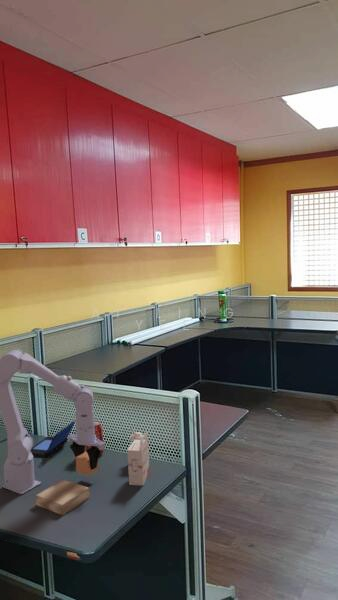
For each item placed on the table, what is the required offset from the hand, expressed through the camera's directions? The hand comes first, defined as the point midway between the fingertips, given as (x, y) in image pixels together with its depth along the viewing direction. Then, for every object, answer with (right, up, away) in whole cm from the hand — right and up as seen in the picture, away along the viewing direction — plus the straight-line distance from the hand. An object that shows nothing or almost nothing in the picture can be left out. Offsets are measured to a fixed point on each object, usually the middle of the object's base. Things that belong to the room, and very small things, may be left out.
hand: (87, 466), depth 149 cm
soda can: (-1, -3, +20) cm, 21 cm away
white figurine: (+16, -3, +12) cm, 21 cm away
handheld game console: (-18, -4, +27) cm, 33 cm away
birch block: (-5, -7, -11) cm, 14 cm away
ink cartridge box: (+17, -5, 0) cm, 18 cm away
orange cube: (0, -1, 0) cm, 2 cm away
